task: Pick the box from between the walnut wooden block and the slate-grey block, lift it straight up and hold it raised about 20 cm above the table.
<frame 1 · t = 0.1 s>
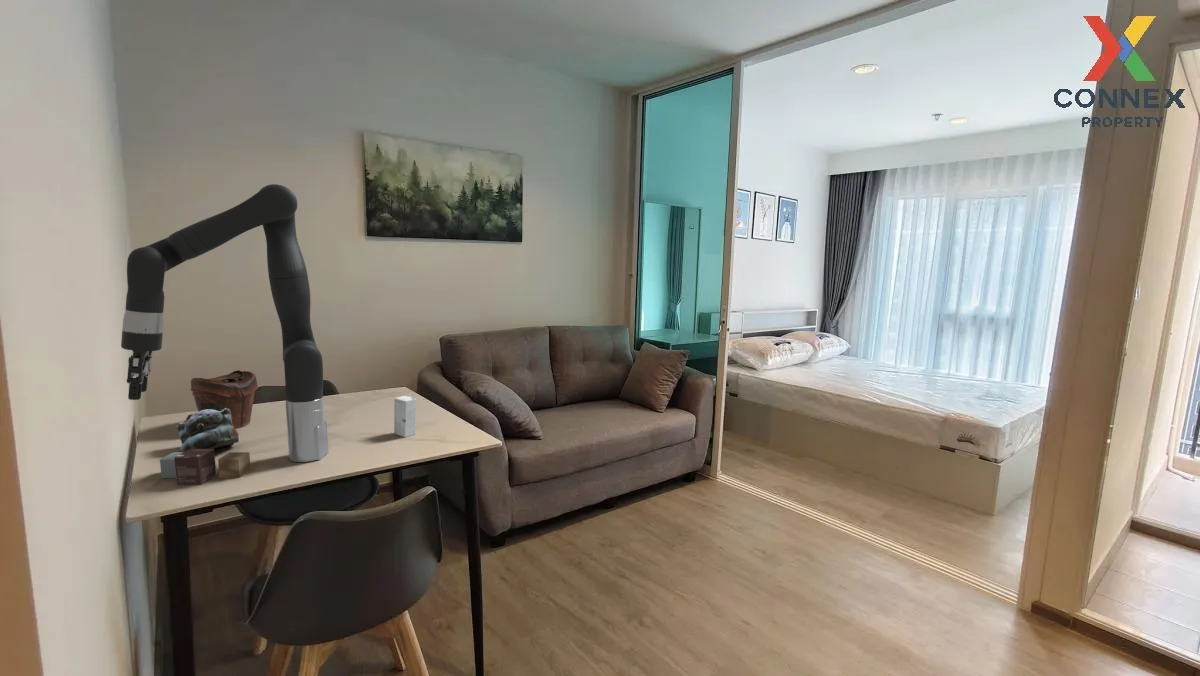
hand: (137, 395, 131), 22 cm above the table, tool pointing down, fingers open, 8 cm apart
brown wooden container: (228, 425, 180), on the table
skincare box: (405, 434, 176), on the table
box: (197, 480, 137), on the table
grey-blue rounded figure: (207, 451, 157), on the table
walnut block: (235, 473, 142), on the table
grey block: (178, 474, 140), on the table
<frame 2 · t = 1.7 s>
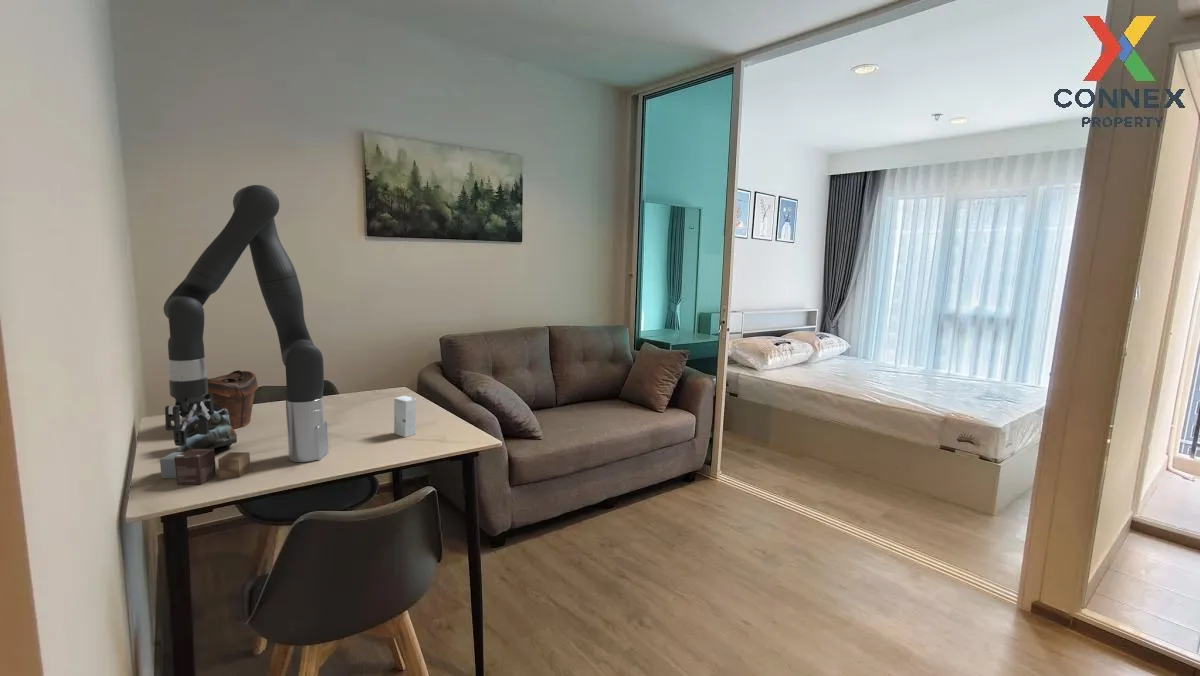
hand: (192, 439, 135), 11 cm above the table, tool pointing down, fingers open, 8 cm apart
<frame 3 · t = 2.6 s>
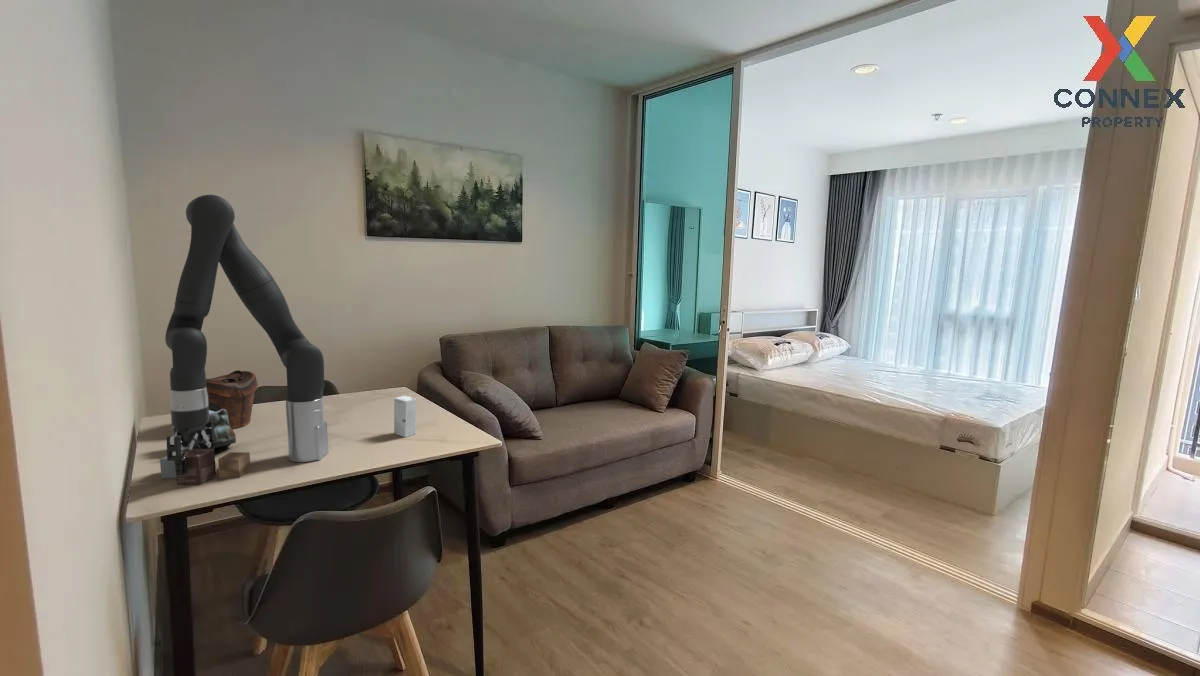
hand: (193, 468, 136), 3 cm above the table, tool pointing down, fingers open, 8 cm apart
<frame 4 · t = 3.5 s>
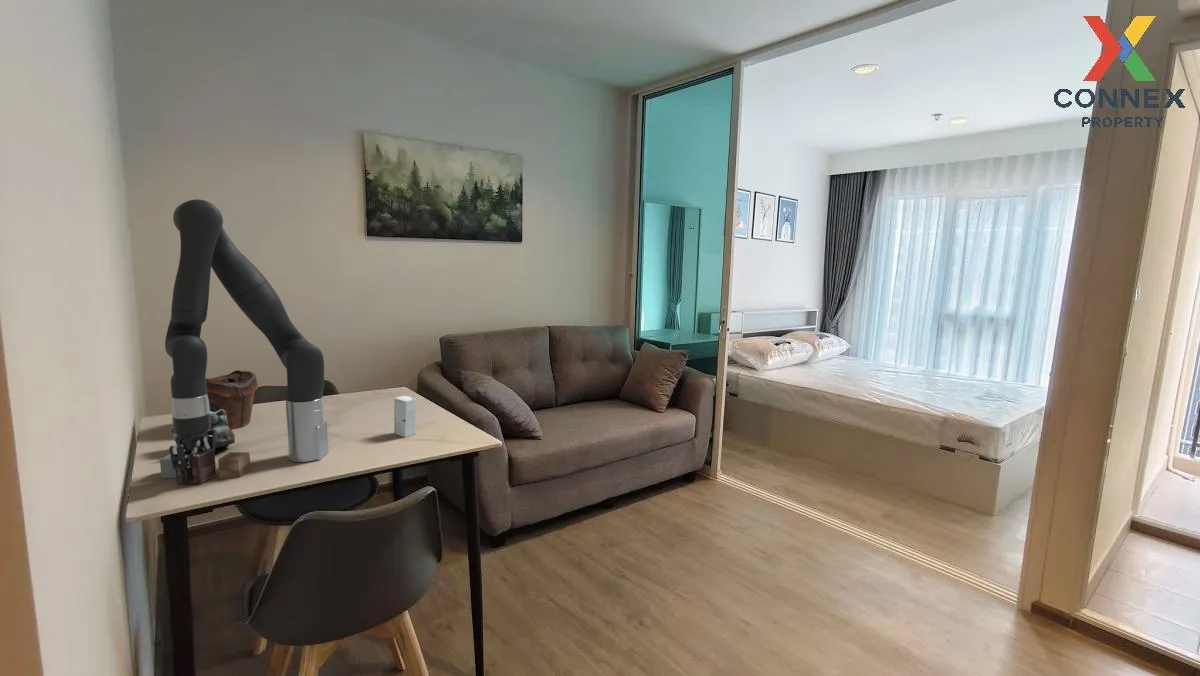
hand: (196, 476, 137), 1 cm above the table, tool pointing down, fingers closed on box, 6 cm apart
box: (197, 480, 137), on the table, touching gripper
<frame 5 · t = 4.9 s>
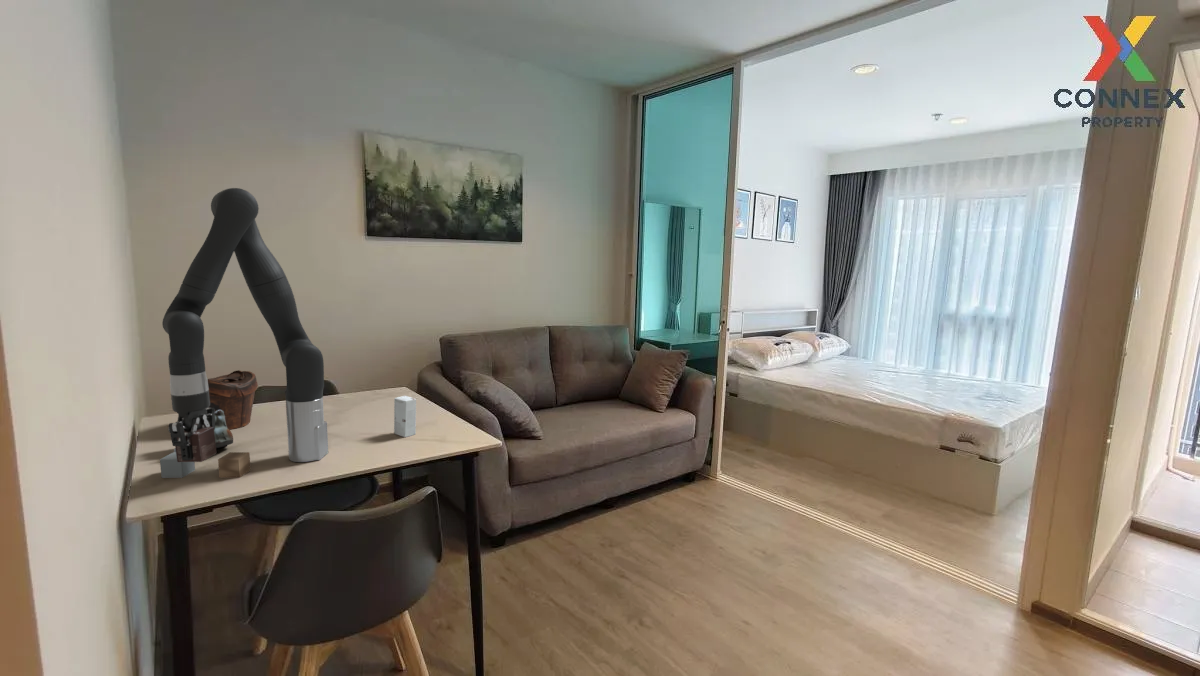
hand: (196, 454, 136), 7 cm above the table, tool pointing down, fingers closed on box, 6 cm apart
box: (197, 458, 136), point 6 cm above the table, touching gripper
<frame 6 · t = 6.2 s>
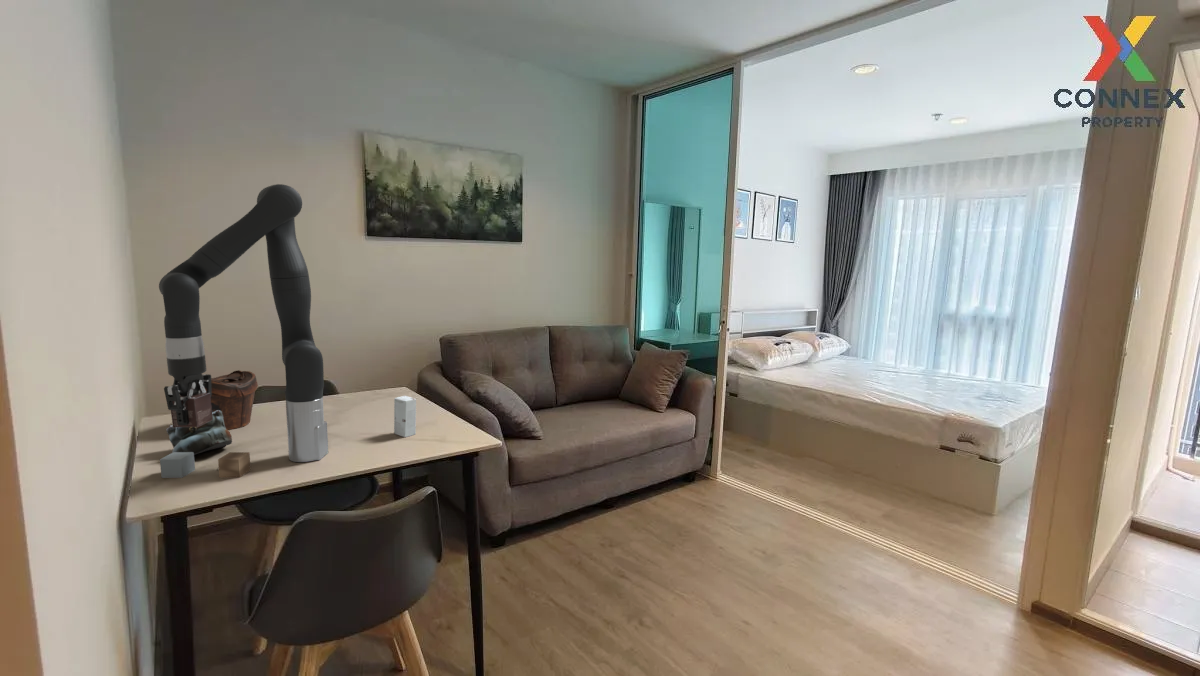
hand: (192, 420, 135), 16 cm above the table, tool pointing down, fingers closed on box, 6 cm apart
box: (193, 424, 135), point 15 cm above the table, touching gripper
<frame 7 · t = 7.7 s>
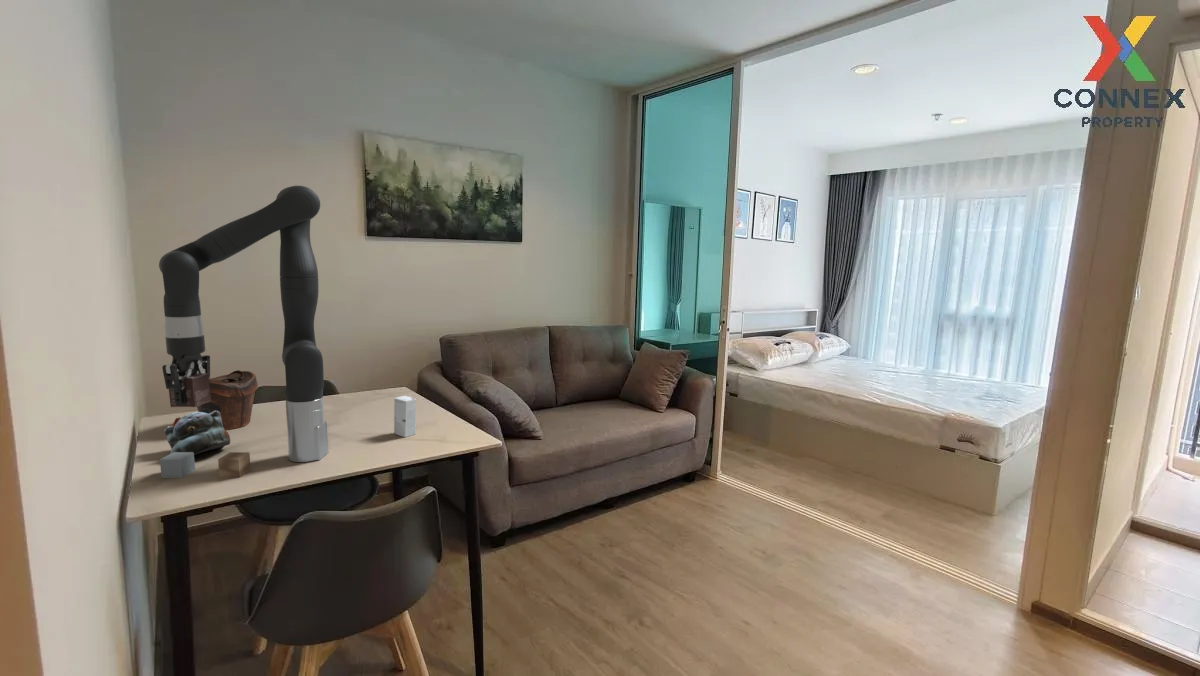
hand: (190, 400, 134), 21 cm above the table, tool pointing down, fingers closed on box, 6 cm apart
box: (191, 405, 134), point 20 cm above the table, touching gripper
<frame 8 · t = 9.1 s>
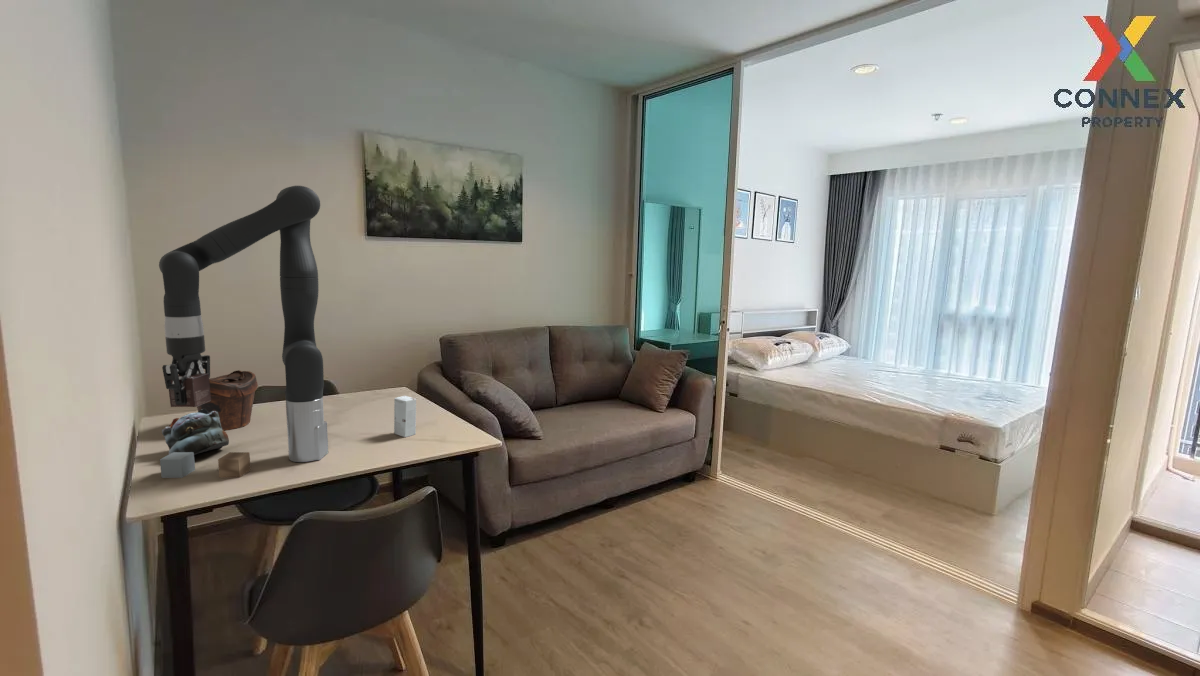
hand: (190, 400, 134), 21 cm above the table, tool pointing down, fingers closed on box, 6 cm apart
box: (191, 405, 134), point 20 cm above the table, touching gripper
at the end: box point 19.6 cm above the table; walnut block moved 0.1 cm from its start; grey block moved 0.1 cm from its start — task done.
